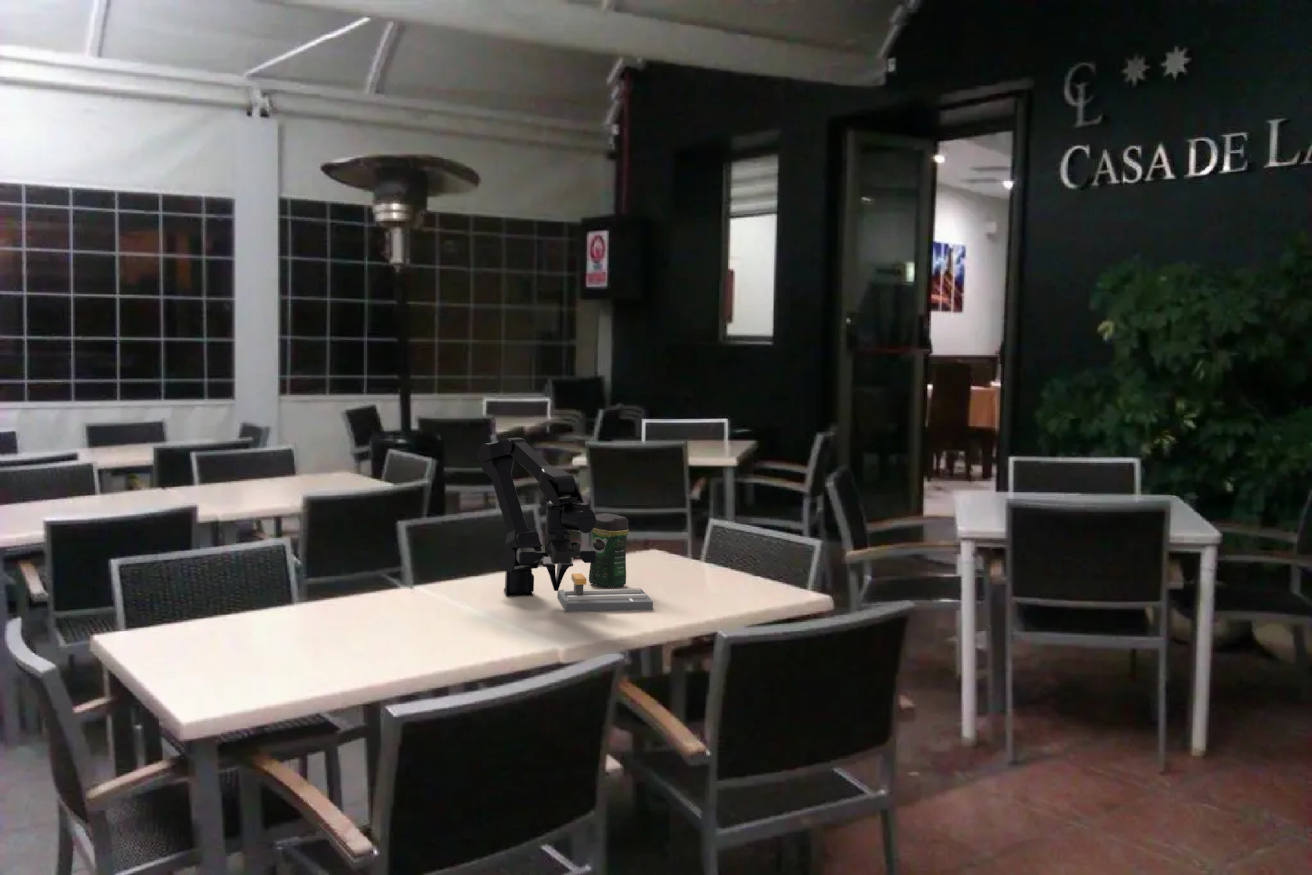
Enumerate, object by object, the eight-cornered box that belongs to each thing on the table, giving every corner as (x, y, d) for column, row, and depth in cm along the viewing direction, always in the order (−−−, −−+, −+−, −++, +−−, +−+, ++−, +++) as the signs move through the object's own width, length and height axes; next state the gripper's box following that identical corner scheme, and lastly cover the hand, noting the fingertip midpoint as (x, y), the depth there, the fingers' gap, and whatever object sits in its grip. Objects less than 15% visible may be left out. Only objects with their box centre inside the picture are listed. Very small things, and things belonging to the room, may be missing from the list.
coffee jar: (631, 586, 291) (634, 515, 289) (608, 590, 285) (612, 518, 284) (605, 579, 298) (609, 510, 296) (583, 583, 292) (586, 512, 290)
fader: (575, 599, 267) (575, 578, 267) (571, 593, 273) (571, 573, 272) (585, 598, 268) (586, 578, 267) (581, 593, 273) (582, 573, 273)
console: (566, 612, 263) (566, 600, 263) (557, 598, 276) (557, 587, 276) (652, 609, 269) (653, 598, 268) (640, 596, 281) (640, 585, 281)
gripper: (523, 533, 257) (521, 600, 259) (602, 532, 262) (600, 598, 263) (517, 524, 268) (515, 588, 270) (593, 523, 272) (591, 586, 274)
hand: (555, 590), depth 269 cm, fingers closed
